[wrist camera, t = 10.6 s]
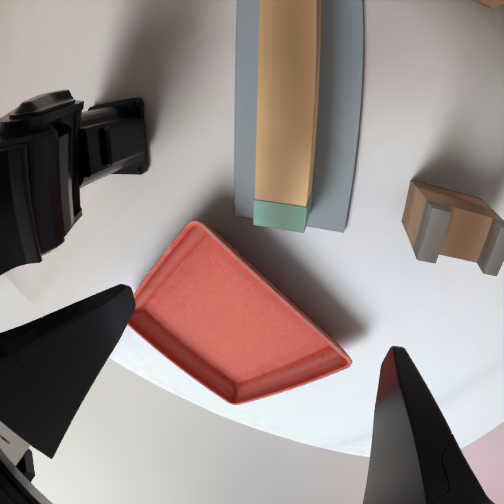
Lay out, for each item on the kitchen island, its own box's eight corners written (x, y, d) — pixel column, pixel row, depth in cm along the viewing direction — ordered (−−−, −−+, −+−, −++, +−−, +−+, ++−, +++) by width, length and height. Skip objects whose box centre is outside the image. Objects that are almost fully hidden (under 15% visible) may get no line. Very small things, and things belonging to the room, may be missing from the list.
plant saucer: (357, 339, 24) (356, 366, 21) (241, 388, 34) (233, 407, 31) (213, 199, 22) (193, 215, 19) (133, 299, 32) (117, 316, 29)
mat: (236, 213, 21) (234, 215, 21) (242, -72, 9) (240, -74, 8) (344, 230, 19) (343, 232, 19) (353, -73, 7) (353, -75, 6)
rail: (266, 206, 20) (253, 224, 17) (272, -70, 8) (260, -91, 6) (310, 213, 19) (304, 233, 16) (317, -71, 7) (311, -93, 5)
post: (401, 221, 17) (416, 259, 13) (410, 180, 16) (432, 207, 11) (469, 236, 16) (496, 276, 12) (481, 199, 14) (514, 231, 10)
